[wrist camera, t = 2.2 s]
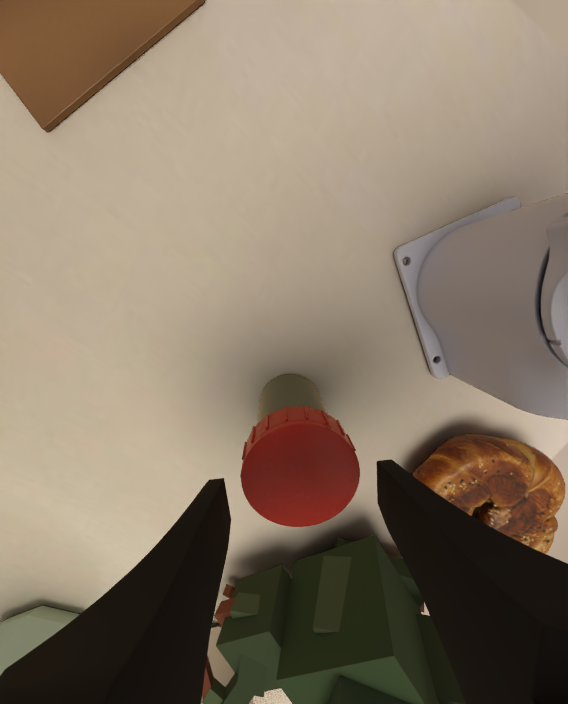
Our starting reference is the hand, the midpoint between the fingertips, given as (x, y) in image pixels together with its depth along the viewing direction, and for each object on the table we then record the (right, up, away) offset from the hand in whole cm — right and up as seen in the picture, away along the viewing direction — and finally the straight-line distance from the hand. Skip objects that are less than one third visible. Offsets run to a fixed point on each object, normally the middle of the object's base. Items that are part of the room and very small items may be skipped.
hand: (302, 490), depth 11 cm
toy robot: (+6, -19, +8) cm, 22 cm away
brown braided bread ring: (+14, -6, +7) cm, 17 cm away
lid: (0, 0, +1) cm, 1 cm away
